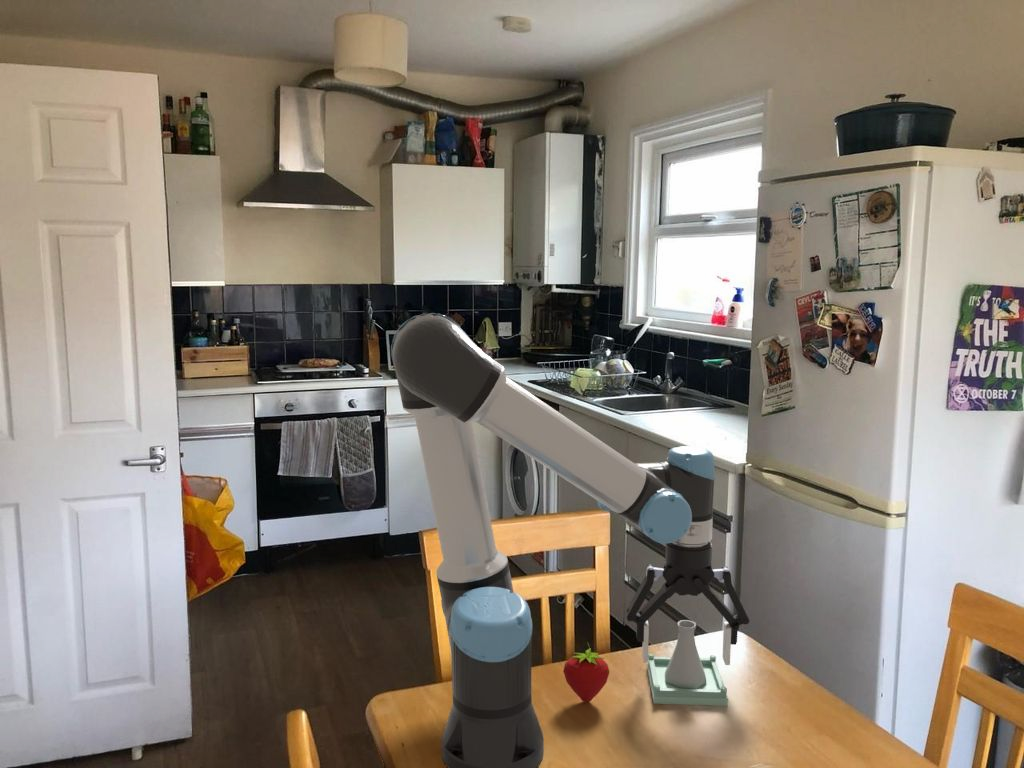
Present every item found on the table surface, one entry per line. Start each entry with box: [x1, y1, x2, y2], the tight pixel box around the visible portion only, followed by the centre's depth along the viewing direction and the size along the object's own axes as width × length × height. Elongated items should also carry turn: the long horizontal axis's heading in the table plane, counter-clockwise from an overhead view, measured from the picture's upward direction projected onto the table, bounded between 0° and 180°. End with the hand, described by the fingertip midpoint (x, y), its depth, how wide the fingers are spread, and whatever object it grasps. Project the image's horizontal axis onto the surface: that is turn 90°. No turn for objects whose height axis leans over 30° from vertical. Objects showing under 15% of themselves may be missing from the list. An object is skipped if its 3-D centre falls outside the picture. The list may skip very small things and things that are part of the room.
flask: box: [665, 619, 707, 689], centre depth 140 cm, size 7×7×10 cm
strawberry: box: [563, 642, 610, 703], centre depth 136 cm, size 6×8×10 cm
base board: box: [646, 653, 729, 707], centre depth 141 cm, size 12×12×3 cm
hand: (685, 660), depth 140 cm, fingers open, 13 cm apart
